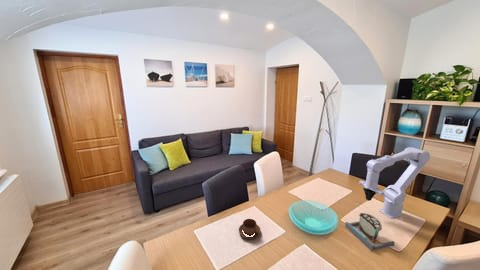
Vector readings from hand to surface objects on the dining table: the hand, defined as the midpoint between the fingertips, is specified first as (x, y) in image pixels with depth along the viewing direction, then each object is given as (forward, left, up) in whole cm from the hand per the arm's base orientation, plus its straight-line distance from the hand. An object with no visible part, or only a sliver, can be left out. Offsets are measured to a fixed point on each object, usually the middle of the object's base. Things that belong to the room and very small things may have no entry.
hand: (368, 199), depth 116 cm
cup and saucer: (+75, -2, -11) cm, 76 cm away
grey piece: (+13, +15, -10) cm, 22 cm away
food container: (+12, +15, -11) cm, 22 cm away
